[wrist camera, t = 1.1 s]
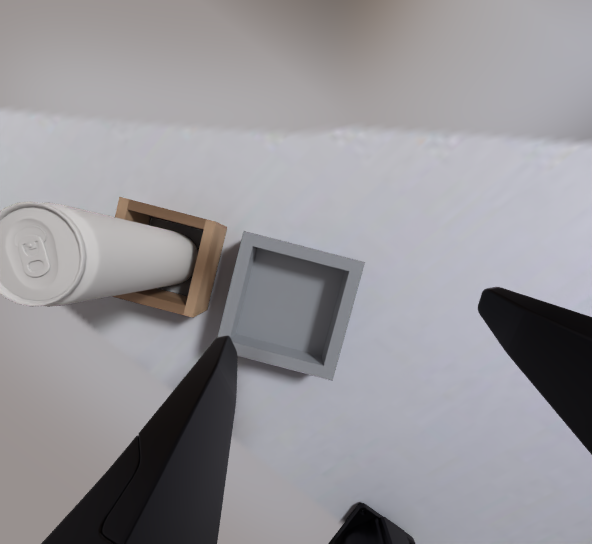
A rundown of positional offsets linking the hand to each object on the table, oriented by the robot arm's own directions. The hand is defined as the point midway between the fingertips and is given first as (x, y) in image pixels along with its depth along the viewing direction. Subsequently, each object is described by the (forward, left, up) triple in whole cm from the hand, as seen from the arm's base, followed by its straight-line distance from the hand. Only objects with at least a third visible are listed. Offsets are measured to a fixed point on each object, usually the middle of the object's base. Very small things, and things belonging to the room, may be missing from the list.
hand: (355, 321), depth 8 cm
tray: (-3, +1, -14) cm, 14 cm away
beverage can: (-6, +12, -14) cm, 20 cm away
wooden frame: (-6, +12, -14) cm, 19 cm away
